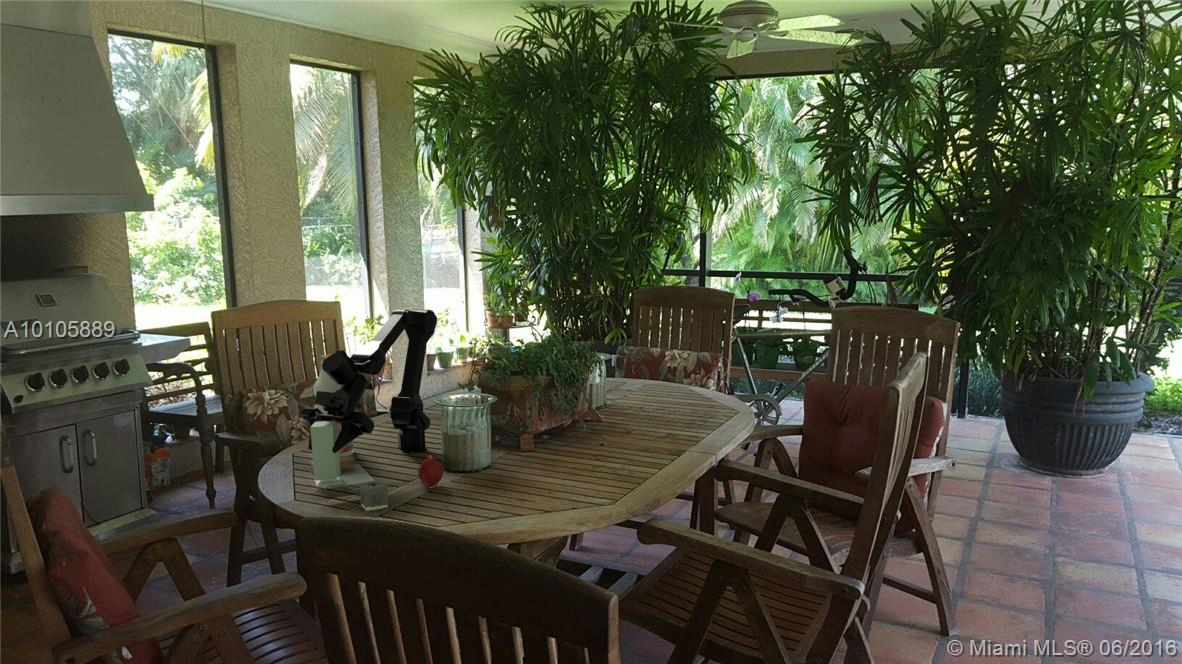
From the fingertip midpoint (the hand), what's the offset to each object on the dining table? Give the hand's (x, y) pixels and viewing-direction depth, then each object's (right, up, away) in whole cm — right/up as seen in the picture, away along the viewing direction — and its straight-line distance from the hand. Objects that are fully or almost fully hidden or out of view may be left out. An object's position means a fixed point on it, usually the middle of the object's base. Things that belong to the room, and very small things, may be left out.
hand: (321, 450), depth 196 cm
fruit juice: (-5, -6, +27) cm, 28 cm away
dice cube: (+16, -11, -12) cm, 22 cm away
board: (+2, -9, +6) cm, 11 cm away
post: (+1, -7, +2) cm, 7 cm away
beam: (-1, -7, +11) cm, 13 cm away
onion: (+26, -9, 0) cm, 27 cm away
